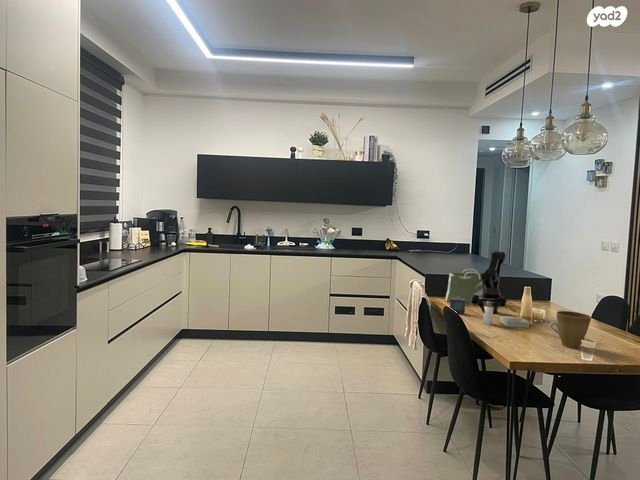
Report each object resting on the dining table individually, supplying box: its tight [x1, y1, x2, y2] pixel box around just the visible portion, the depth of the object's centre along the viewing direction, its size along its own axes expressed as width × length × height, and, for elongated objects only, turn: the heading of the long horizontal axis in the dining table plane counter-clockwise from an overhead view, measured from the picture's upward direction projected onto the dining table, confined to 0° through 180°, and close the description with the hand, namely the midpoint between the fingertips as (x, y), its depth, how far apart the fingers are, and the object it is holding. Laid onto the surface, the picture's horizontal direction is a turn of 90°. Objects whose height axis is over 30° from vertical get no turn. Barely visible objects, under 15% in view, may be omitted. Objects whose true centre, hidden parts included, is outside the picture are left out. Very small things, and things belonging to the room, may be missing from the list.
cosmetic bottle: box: [482, 301, 494, 326], centre depth 261 cm, size 5×5×13 cm
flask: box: [449, 296, 466, 315], centre depth 283 cm, size 9×3×11 cm, turn 87°
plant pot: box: [556, 310, 592, 349], centre depth 225 cm, size 15×15×16 cm
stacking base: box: [499, 315, 531, 329], centre depth 263 cm, size 12×12×3 cm
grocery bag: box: [444, 268, 486, 306], centre depth 317 cm, size 32×14×23 cm, turn 79°
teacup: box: [549, 321, 560, 337], centre depth 241 cm, size 14×11×8 cm
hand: (488, 313), depth 259 cm, fingers closed on cosmetic bottle, 5 cm apart
